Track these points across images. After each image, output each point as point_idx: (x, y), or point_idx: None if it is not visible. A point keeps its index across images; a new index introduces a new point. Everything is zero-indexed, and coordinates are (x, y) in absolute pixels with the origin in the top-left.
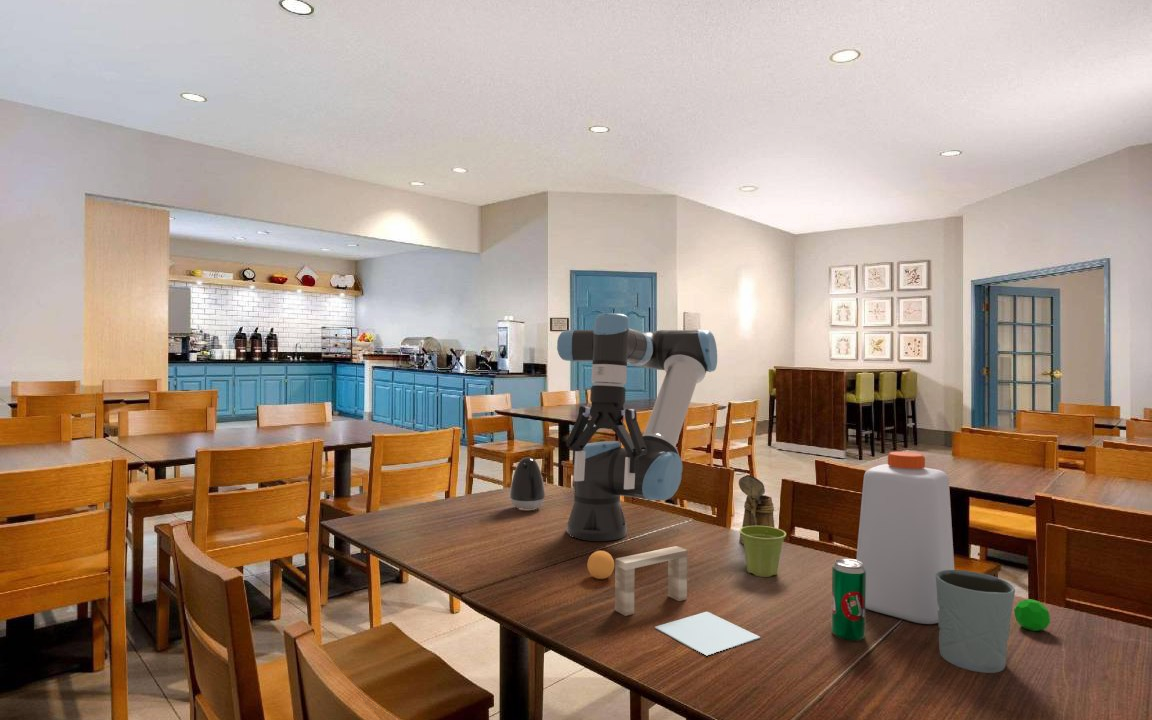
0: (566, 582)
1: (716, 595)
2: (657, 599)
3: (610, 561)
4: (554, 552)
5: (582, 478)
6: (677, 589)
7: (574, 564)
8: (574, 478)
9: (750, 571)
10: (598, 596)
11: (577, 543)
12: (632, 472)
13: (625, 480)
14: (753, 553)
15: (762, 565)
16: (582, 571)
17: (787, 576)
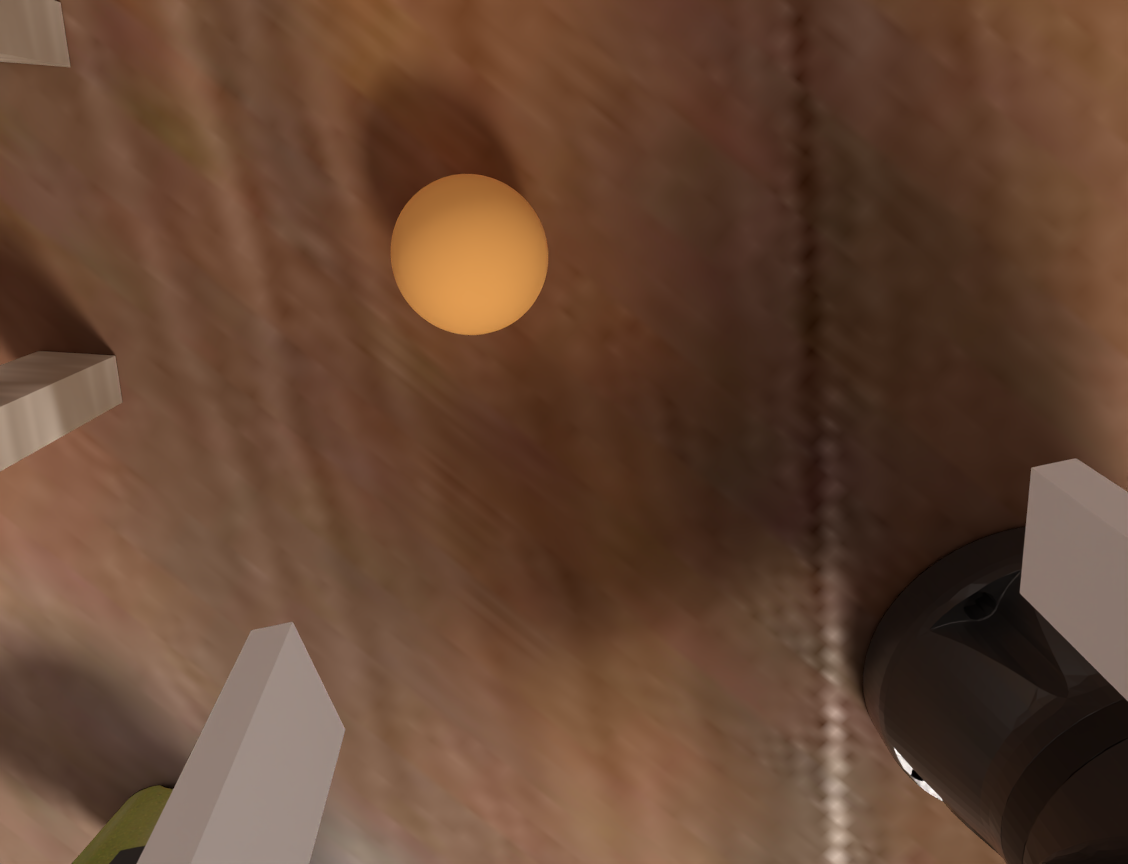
0: (532, 44)
1: (38, 527)
2: (101, 288)
3: (395, 275)
4: (955, 300)
5: (1040, 586)
6: (11, 364)
7: (730, 269)
8: (1088, 479)
9: None
10: (266, 60)
11: (972, 490)
12: (129, 856)
13: (236, 703)
14: (103, 858)
15: (102, 831)
16: (617, 235)
17: None
